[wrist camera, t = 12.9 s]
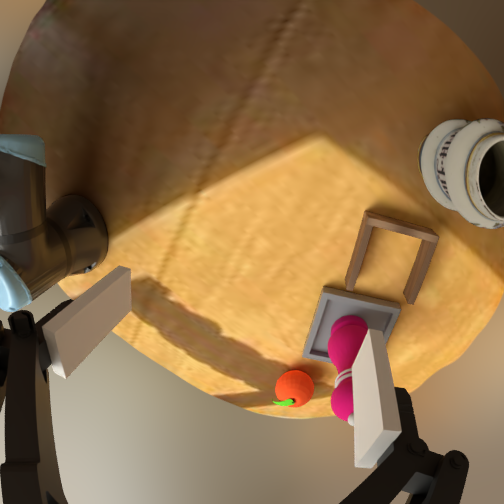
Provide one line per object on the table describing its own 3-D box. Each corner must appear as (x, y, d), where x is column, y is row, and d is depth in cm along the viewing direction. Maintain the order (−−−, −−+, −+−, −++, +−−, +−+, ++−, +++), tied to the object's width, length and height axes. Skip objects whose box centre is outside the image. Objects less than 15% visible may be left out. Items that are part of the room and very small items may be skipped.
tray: (302, 349, 55) (301, 356, 53) (322, 286, 49) (322, 292, 48) (371, 363, 53) (372, 370, 51) (398, 303, 48) (401, 309, 46)
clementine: (283, 393, 59) (278, 420, 53) (266, 370, 58) (259, 396, 51) (320, 382, 57) (319, 409, 50) (305, 357, 55) (302, 384, 49)
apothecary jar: (448, 103, 36) (513, 94, 19) (493, 168, 37) (564, 193, 21) (393, 154, 40) (437, 170, 24) (441, 217, 42) (496, 266, 25)
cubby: (344, 279, 48) (346, 289, 45) (364, 210, 44) (368, 217, 41) (408, 293, 47) (413, 304, 44) (431, 229, 43) (439, 236, 39)
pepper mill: (379, 331, 49) (396, 424, 31) (345, 354, 52) (347, 448, 34) (353, 303, 49) (363, 395, 30) (318, 329, 51) (312, 423, 33)
